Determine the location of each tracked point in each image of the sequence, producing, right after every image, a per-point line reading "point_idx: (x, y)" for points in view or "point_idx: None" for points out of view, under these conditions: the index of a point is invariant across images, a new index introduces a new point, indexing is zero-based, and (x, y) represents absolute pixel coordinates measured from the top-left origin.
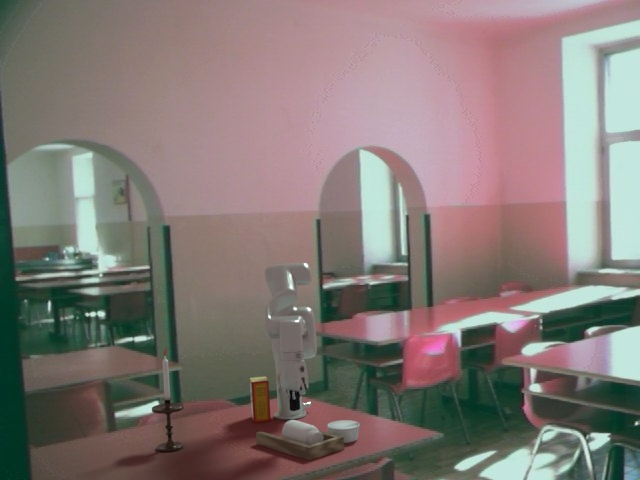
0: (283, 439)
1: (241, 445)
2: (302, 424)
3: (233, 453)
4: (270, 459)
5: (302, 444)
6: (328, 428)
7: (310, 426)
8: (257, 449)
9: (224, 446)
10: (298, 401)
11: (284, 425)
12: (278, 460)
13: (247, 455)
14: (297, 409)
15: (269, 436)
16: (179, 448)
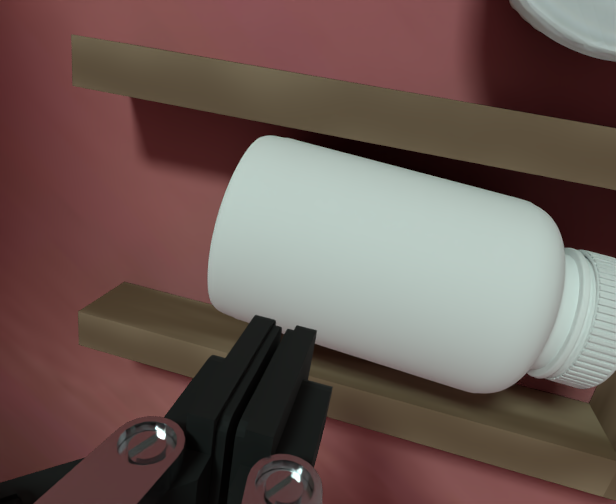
0: (342, 408)
1: (77, 352)
2: (420, 334)
3: None
4: (373, 482)
5: (550, 462)
6: (555, 39)
7: (531, 346)
8: None
9: (30, 391)
10: (313, 455)
11: (222, 311)
12: (425, 485)
13: None
14: (309, 369)
15: None
16: None
